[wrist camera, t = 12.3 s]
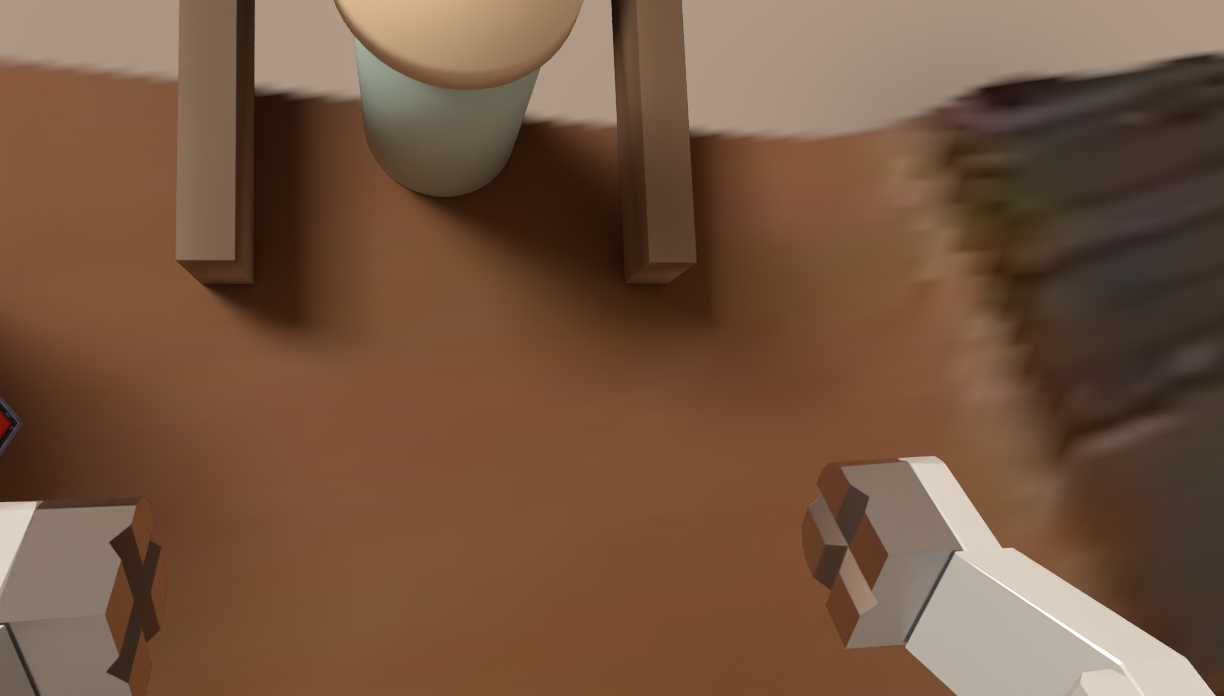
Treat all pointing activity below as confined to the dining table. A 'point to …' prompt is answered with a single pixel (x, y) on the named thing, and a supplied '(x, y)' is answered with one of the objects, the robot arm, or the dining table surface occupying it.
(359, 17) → the grey-green capped cylinder
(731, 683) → the dining table surface
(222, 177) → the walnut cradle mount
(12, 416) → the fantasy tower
